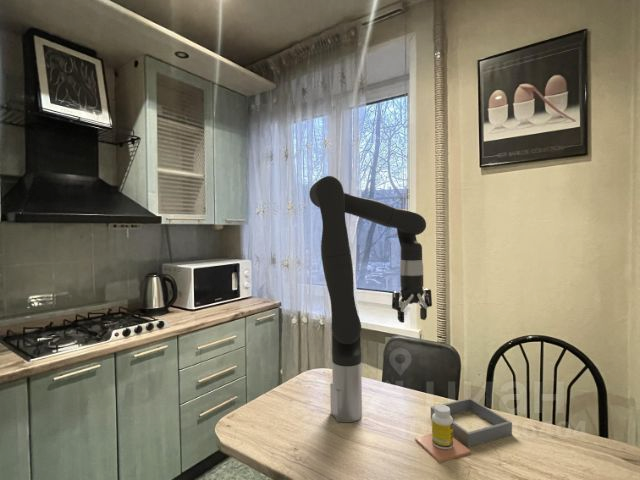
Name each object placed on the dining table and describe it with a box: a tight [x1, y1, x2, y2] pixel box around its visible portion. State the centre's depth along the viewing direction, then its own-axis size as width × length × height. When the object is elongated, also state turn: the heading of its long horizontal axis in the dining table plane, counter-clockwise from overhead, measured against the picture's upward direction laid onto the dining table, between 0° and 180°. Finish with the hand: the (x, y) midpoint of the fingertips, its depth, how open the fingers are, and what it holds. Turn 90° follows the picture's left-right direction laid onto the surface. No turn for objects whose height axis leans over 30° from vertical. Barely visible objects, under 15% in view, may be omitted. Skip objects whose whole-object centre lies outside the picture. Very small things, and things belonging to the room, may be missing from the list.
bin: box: [430, 397, 513, 448], centre depth 102 cm, size 16×16×4 cm
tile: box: [415, 433, 472, 463], centre depth 92 cm, size 10×10×1 cm
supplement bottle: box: [431, 404, 454, 449], centre depth 92 cm, size 5×5×10 cm
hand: (412, 320), depth 117 cm, fingers open, 8 cm apart
